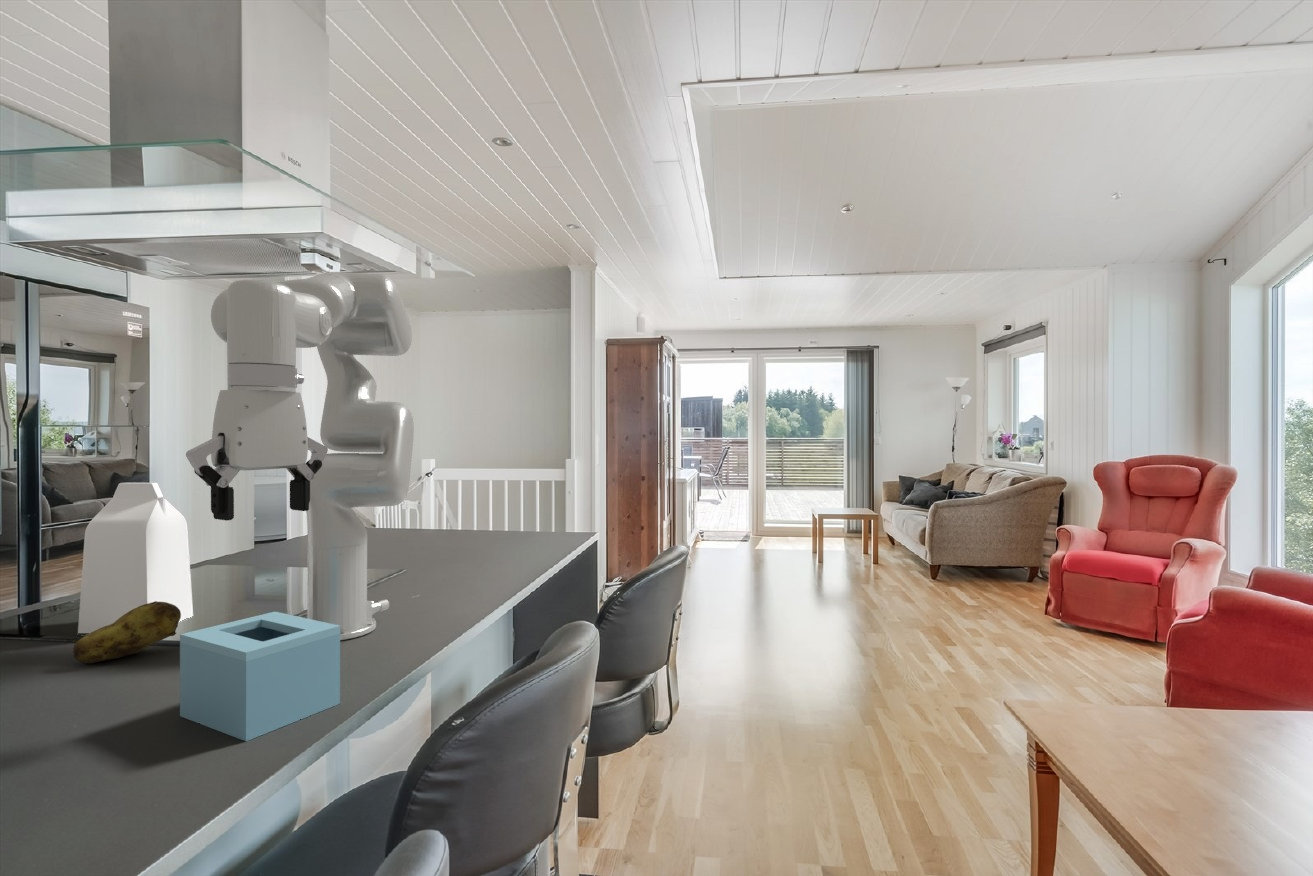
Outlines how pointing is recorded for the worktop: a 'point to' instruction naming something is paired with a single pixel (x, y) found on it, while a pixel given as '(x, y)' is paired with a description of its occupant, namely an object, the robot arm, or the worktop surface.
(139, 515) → the milk
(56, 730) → the worktop surface
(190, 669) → the box
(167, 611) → the potato
